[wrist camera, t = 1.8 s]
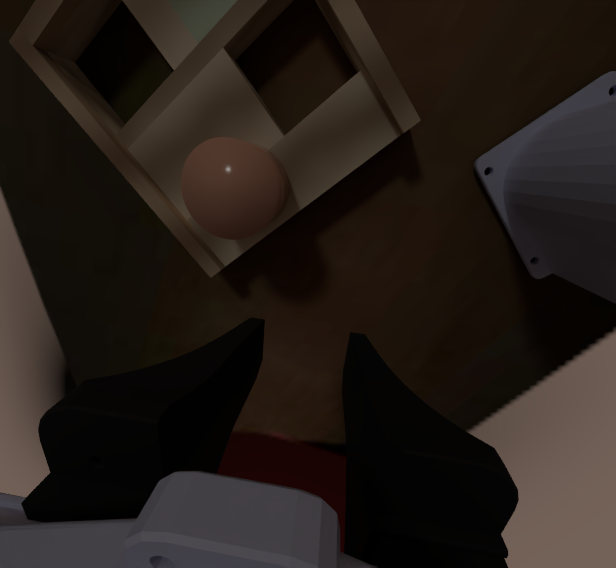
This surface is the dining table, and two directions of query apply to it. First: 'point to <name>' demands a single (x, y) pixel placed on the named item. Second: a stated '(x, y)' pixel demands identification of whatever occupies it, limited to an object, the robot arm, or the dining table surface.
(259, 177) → the brown rounded lump
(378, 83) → the wooden frame
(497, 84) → the dining table surface
